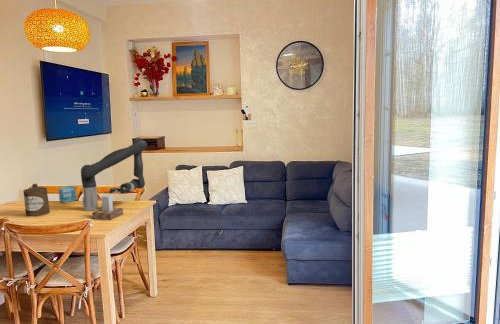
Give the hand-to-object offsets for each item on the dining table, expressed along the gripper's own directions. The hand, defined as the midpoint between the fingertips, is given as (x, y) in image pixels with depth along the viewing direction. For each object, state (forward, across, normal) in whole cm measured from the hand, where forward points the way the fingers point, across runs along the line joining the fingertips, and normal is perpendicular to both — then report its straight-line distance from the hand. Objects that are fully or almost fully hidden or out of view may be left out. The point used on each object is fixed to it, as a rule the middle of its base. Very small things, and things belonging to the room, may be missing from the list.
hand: (115, 192), depth 263 cm
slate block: (+11, 0, +10) cm, 15 cm away
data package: (-25, -59, +16) cm, 66 cm away
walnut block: (+11, 0, +15) cm, 19 cm away
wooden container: (+11, -56, +16) cm, 59 cm away
